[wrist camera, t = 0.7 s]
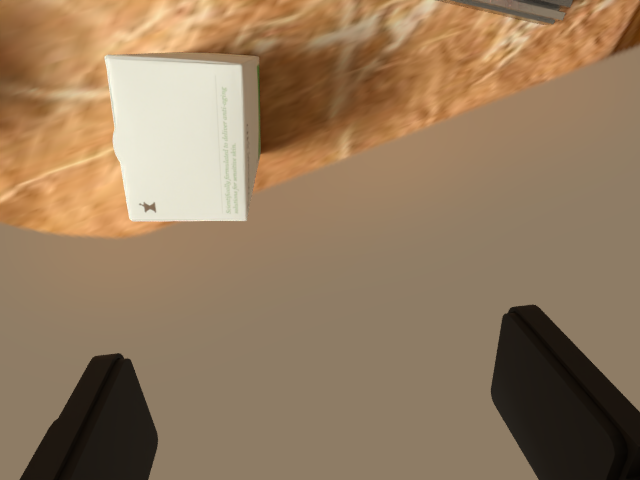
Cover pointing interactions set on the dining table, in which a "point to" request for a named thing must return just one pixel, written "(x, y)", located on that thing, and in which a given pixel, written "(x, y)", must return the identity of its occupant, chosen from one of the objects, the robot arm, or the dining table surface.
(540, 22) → the press
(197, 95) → the skincare box
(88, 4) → the dining table surface
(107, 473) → the robot arm
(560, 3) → the lever
